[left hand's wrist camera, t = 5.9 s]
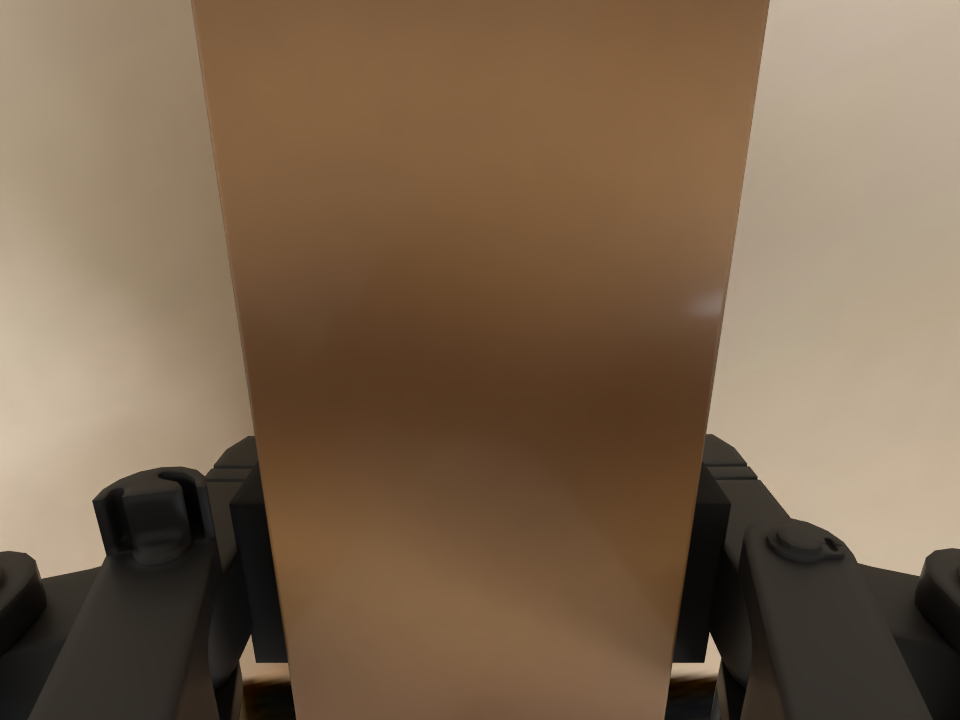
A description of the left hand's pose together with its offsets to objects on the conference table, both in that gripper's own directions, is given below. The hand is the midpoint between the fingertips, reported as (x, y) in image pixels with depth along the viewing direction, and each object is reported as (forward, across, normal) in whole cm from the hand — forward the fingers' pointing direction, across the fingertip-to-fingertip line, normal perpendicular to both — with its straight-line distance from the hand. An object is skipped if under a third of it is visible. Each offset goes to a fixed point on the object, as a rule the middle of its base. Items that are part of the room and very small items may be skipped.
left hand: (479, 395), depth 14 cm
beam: (+1, 0, -30) cm, 31 cm away
